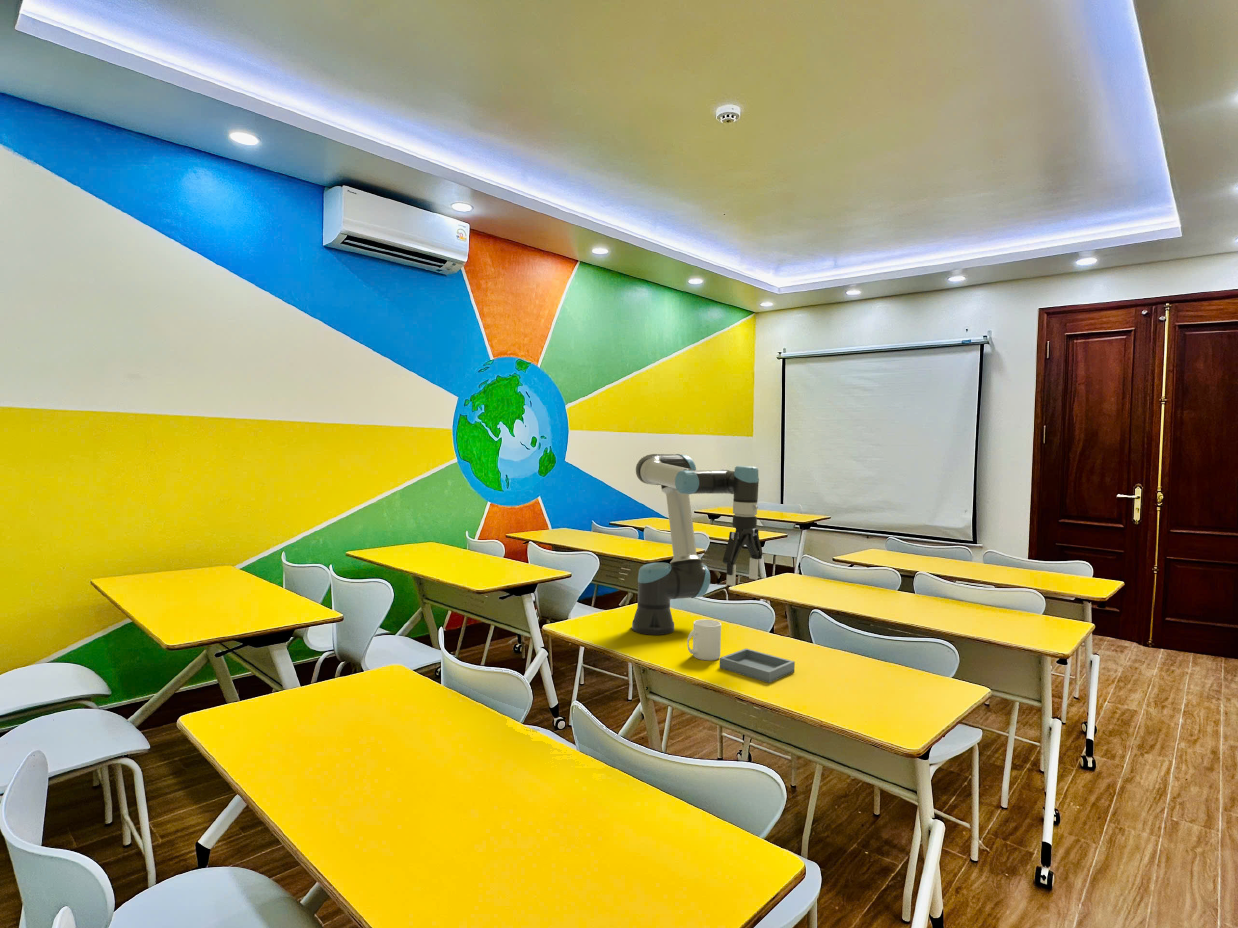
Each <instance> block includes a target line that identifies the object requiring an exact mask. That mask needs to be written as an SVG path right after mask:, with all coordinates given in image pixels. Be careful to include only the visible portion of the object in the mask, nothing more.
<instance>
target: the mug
mask: <svg viewBox="0 0 1238 928" xmlns="http://www.w3.org/2000/svg"><path fill="white" fill-rule="evenodd" d="M692 627H693V629H692V630H691V631H690V633H689V634H688V636H687V641H686V644H687V651H688V652H689V653H690V654H691V655H692V656H693V657H694V658H695V659H697V660H700V661H710V662H711V661H716V660H718V659H720V658H721V647H722V645H721V644H722V643H721V641H722V639H721V638H722V622H720V621H718V620H713V619H704V618H703V619H697V620H695V621H693V626H692ZM692 637H693V638H692ZM691 639H692V649H691V647H690V640H691Z"/></svg>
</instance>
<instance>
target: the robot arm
mask: <svg viewBox="0 0 1238 928" xmlns="http://www.w3.org/2000/svg"><path fill="white" fill-rule="evenodd" d="M635 474H636V477H637V478H638V480H639V481H640V482H642V483H644V484H647V485H653V486H654V485H655V486H660V487H661V492H662V493H663V494H664V495H665V496H666V504H667V506H666V507H667V513H668V521H669V529H670V531H669V532H670V537H671V547H672V555H673V558H672V559H671V561H670V562H669V563H668V562H663V561H662V562H650V563H646V564H644V565H642V566H640V568H639V569H638V574H637V575H638V576H637V607H636V611H635V613H634V616H633V619H632V624H631V629H632V630H633V631H634V632H635V633H639V634H643V635H651V636H661V635H664V636H665V635H669V634H671V633H673V632H675V622H674V620H673V615H672V611H671V600H681V599H695V598H700V597H702V596H704V595H706V594H707V592H708V589H709V588H710V584H711V573H710V570H709V569H708V568H709V567H708V566H707V565H705V564H703V562H702V558H701V557H699V556H698V554H697V547H696V541H695V540H696V539H695V538H696V537H695V531H694V523H693V517H692V514H693V513H692V509H691V508H692V507H691V501H690V499H691V498H690V495H693V494H697V495H698V494H699V495H700V494H715V495H716V494H718V495H719V494H721V495H723V494H726V495H727V494H730V495H733V498H732V499H733V502H732V503H733V504H732V514H734V515H733V516H732V524H731V525H732V527H733V528H735V531H729V535H728V541H727V544H726V548H725V551H724V554H723V558H722V563H723V564H726V582H725V583H726V586H731V587H735V586H736V575H737V573H736V572H737V571H736V570H737V569H736V568H737V564H735V563H736V560H737V559H738V556H739V554H740V553H741V550H742V548H744V546H746V549H748V550H747V551H748V553H749V555H750V558H749V566H748V567H749V569H748V572H749V573H748V578H749V579H751V580H758V578H759V577H758V575H759V560H762V558H763V555H764V554H763V550H762V544H761V539H760V536H759V529H758V528H757V527H758V523H757V522H758V518H757V516H756V515H758V508H759V507H758V501H759V500H758V499H759V484H760V483H759V482H760V478H759V468H758V467H757V466H752V465H751V466H749V465H748V466H747V465H736V466H735V467H734V470H729V469H719V470H701V469H700V470H697V467H696V464H695V462H694V459H692V458H691V457H690V456H689V455H687V454H680V453H675V454H673V453H672V454H671V453H670V454H669V453H667V454H664V453H661V454H659V453H651V454H646V455H645V456H643V457H641V458H640V459H639V460H638V462H637V463H636V466H635Z"/></svg>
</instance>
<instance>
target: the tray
mask: <svg viewBox="0 0 1238 928" xmlns="http://www.w3.org/2000/svg"><path fill="white" fill-rule="evenodd" d="M795 663H796V662H795V661H794V660H790V659H786V658H783V657H779V656H775V655H772V654H768V653H764V652H761V651H758V650H754V649H749V648H743V649H740V650H738V651H735V652H732V653H729V654H727V655H723V656H720V657H719V668H720V669H722V670H725V671H729V672H731V673H735V674H738V675H743V676H745V677H748V678H752V679H755V680H759V681H761V682H765V683H768V684H770V683H772V682H774V681H777V680H779V679H781V678H783V677H785V676H787V675H790V674H792V673H794V672H795V668H796V667H795V665H796V664H795Z"/></svg>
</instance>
